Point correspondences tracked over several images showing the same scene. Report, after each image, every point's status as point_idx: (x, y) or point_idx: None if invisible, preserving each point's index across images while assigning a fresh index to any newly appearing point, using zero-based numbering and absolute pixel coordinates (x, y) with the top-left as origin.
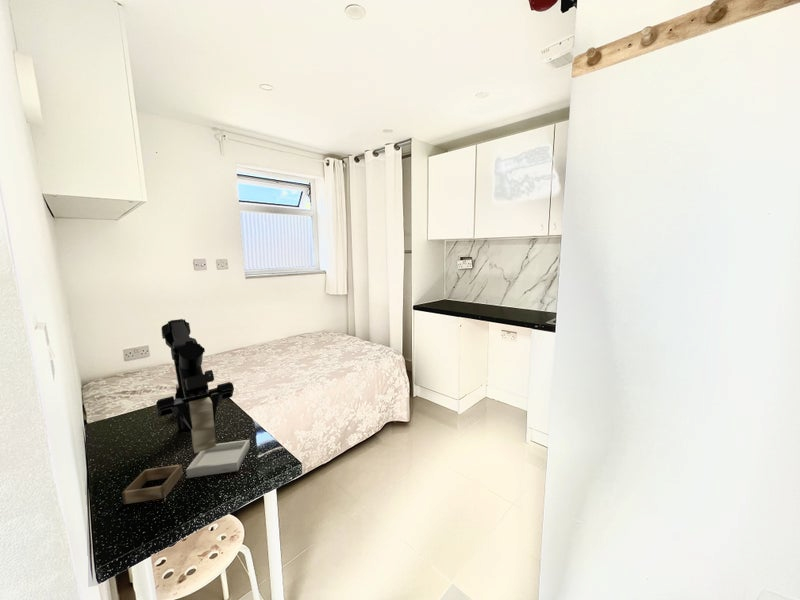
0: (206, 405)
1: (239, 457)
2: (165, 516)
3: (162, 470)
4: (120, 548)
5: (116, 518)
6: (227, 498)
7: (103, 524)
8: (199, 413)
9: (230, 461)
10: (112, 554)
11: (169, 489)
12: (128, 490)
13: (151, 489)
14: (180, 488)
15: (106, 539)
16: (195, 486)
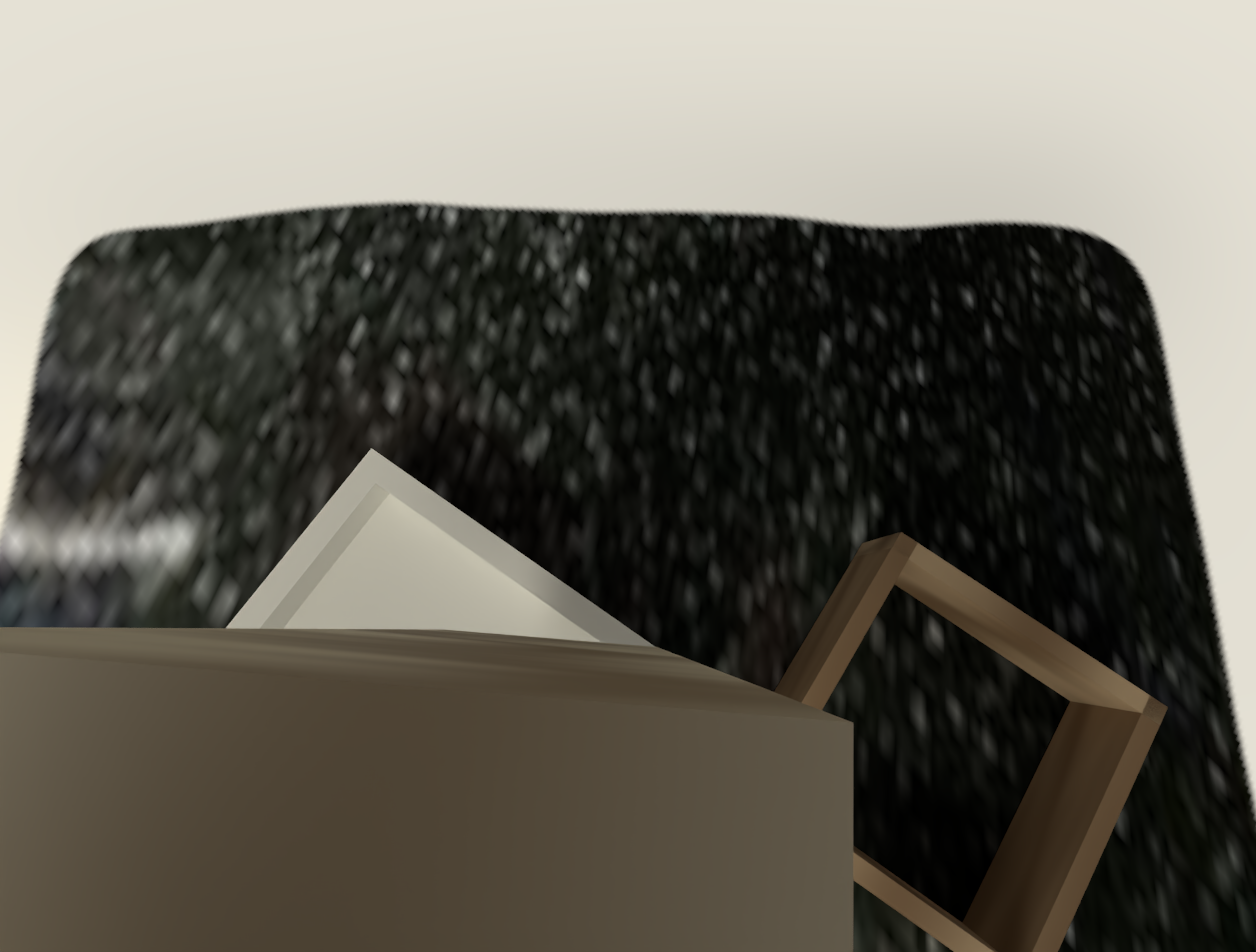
0: (91, 657)
1: (322, 509)
2: (869, 341)
3: (885, 873)
4: (1061, 262)
5: (1111, 556)
6: (557, 222)
7: (1170, 554)
8: (508, 660)
9: (390, 598)
10: (1089, 249)
11: (835, 596)
12: (1117, 735)
13: (971, 583)
14: (765, 577)
15: (1132, 391)
16: (679, 515)
